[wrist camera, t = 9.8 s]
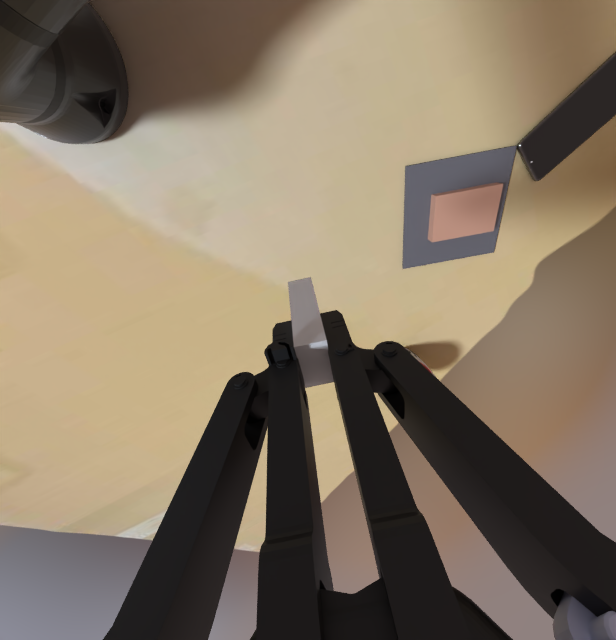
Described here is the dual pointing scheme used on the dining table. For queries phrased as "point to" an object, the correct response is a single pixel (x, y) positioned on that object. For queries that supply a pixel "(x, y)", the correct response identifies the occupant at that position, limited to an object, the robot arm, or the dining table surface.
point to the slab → (464, 212)
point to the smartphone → (571, 122)
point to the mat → (443, 179)
